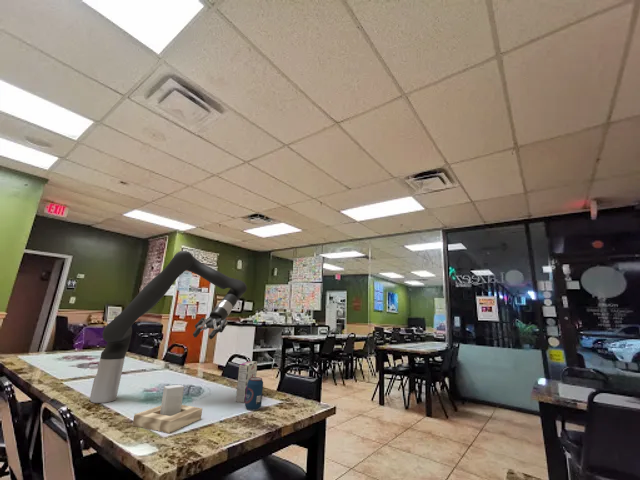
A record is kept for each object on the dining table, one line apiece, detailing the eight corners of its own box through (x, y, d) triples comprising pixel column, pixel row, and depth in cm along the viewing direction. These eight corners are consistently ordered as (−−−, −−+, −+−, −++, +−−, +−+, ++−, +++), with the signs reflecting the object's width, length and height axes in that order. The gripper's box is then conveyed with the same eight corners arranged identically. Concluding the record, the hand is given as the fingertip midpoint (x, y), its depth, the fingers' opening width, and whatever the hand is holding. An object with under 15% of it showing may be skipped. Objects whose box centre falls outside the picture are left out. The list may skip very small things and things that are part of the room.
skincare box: (175, 418, 111) (180, 384, 114) (179, 421, 108) (184, 386, 111) (157, 421, 107) (163, 386, 110) (161, 425, 104) (167, 388, 107)
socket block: (132, 425, 103) (134, 414, 104) (167, 412, 117) (169, 402, 118) (168, 433, 98) (170, 421, 99) (201, 418, 113) (202, 408, 113)
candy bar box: (245, 396, 146) (249, 360, 150) (254, 397, 145) (258, 361, 149) (234, 402, 135) (238, 363, 139) (244, 403, 134) (248, 364, 138)
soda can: (241, 407, 128) (244, 377, 131) (254, 405, 132) (257, 376, 135) (250, 412, 123) (253, 380, 126) (264, 408, 128) (266, 378, 131)
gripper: (206, 305, 145) (185, 329, 132) (231, 306, 140) (212, 332, 127) (212, 316, 148) (192, 341, 135) (236, 318, 144) (218, 344, 131)
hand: (202, 337), depth 131 cm, fingers open, 8 cm apart
